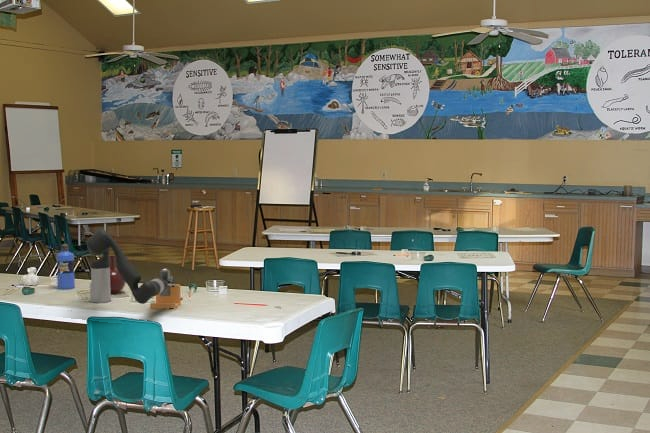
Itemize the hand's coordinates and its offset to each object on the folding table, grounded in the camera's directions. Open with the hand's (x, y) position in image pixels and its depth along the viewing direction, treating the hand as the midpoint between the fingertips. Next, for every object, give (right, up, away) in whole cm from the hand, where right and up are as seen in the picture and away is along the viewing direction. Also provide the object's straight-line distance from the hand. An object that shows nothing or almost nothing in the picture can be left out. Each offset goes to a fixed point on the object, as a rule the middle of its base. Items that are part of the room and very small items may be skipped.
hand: (166, 281), depth 398 cm
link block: (0, -7, -2) cm, 7 cm away
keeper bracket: (0, -12, -2) cm, 12 cm away
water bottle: (-66, -8, +54) cm, 86 cm away
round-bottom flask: (-36, -10, +37) cm, 53 cm away
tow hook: (0, -11, +17) cm, 20 cm away
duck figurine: (-90, -8, +66) cm, 112 cm away
